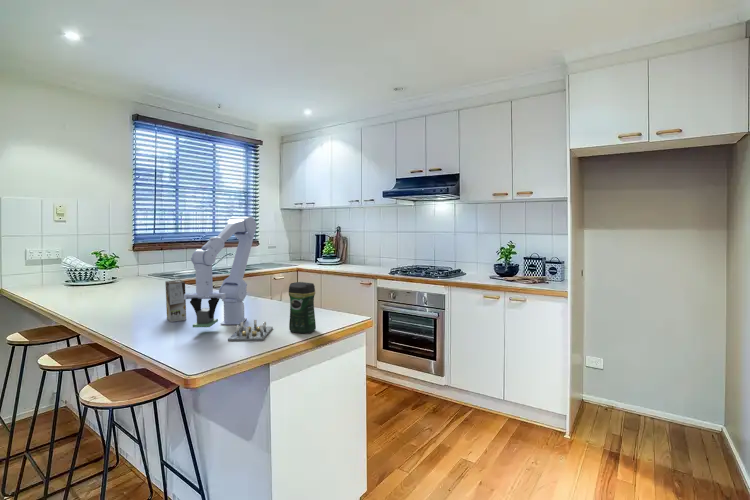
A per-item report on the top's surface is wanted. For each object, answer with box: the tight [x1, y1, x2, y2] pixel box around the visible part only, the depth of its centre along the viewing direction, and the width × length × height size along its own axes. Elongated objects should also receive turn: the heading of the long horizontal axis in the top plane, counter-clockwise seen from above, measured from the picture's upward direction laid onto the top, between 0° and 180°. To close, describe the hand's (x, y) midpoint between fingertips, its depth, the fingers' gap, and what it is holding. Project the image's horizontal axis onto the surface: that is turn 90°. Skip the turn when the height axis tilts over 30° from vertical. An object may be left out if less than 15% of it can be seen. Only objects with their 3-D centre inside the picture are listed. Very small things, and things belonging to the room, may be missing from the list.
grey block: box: [192, 307, 219, 328], centre depth 151 cm, size 9×6×6 cm, turn 2°
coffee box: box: [165, 279, 187, 323], centre depth 171 cm, size 9×6×16 cm
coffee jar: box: [288, 281, 317, 334], centre depth 152 cm, size 10×8×19 cm
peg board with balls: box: [227, 319, 274, 342], centre depth 148 cm, size 16×12×4 cm
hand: (205, 318), depth 151 cm, fingers closed on grey block, 4 cm apart
